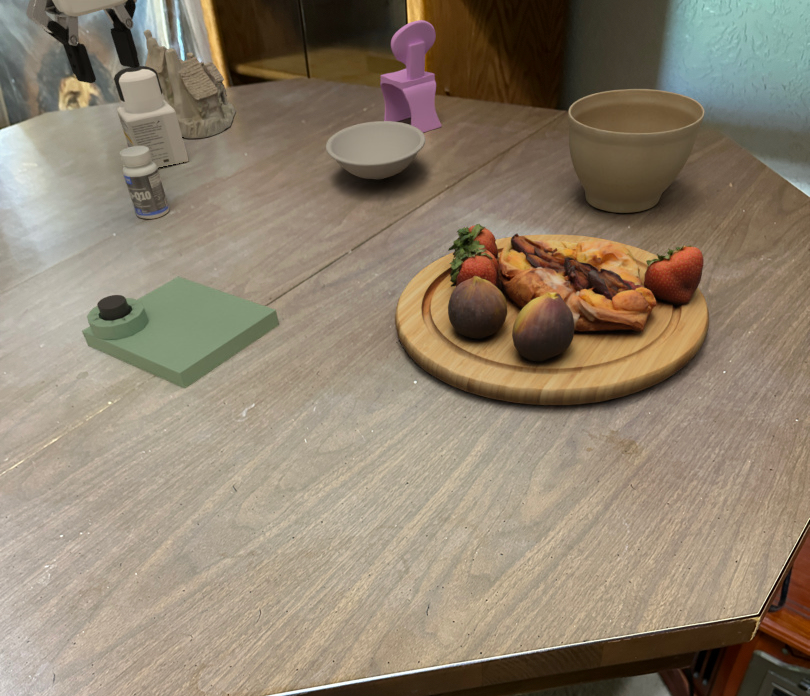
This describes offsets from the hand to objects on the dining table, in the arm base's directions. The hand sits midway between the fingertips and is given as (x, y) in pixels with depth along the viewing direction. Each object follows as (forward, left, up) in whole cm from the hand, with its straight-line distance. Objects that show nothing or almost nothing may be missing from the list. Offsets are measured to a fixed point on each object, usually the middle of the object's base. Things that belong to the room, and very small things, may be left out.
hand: (108, 72), depth 91 cm
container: (-16, +15, -18) cm, 28 cm away
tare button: (+25, -25, -15) cm, 38 cm away
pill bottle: (0, 0, -18) cm, 18 cm away
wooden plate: (+63, +1, -18) cm, 65 cm away
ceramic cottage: (-24, +32, -18) cm, 44 cm away
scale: (+30, -21, -18) cm, 41 cm away
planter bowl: (+57, +33, -18) cm, 68 cm away
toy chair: (+13, +46, -18) cm, 51 cm away
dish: (+22, +25, -18) cm, 38 cm away
